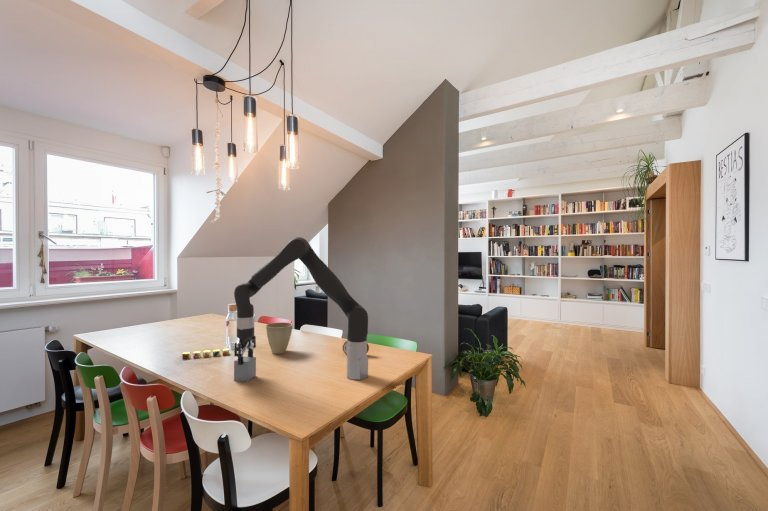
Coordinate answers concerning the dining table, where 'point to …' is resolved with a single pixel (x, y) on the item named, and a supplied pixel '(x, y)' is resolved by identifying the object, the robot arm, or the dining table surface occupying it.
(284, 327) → the plant pot
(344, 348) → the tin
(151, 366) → the dining table surface
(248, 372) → the matte grey cube
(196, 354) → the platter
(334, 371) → the dining table surface
